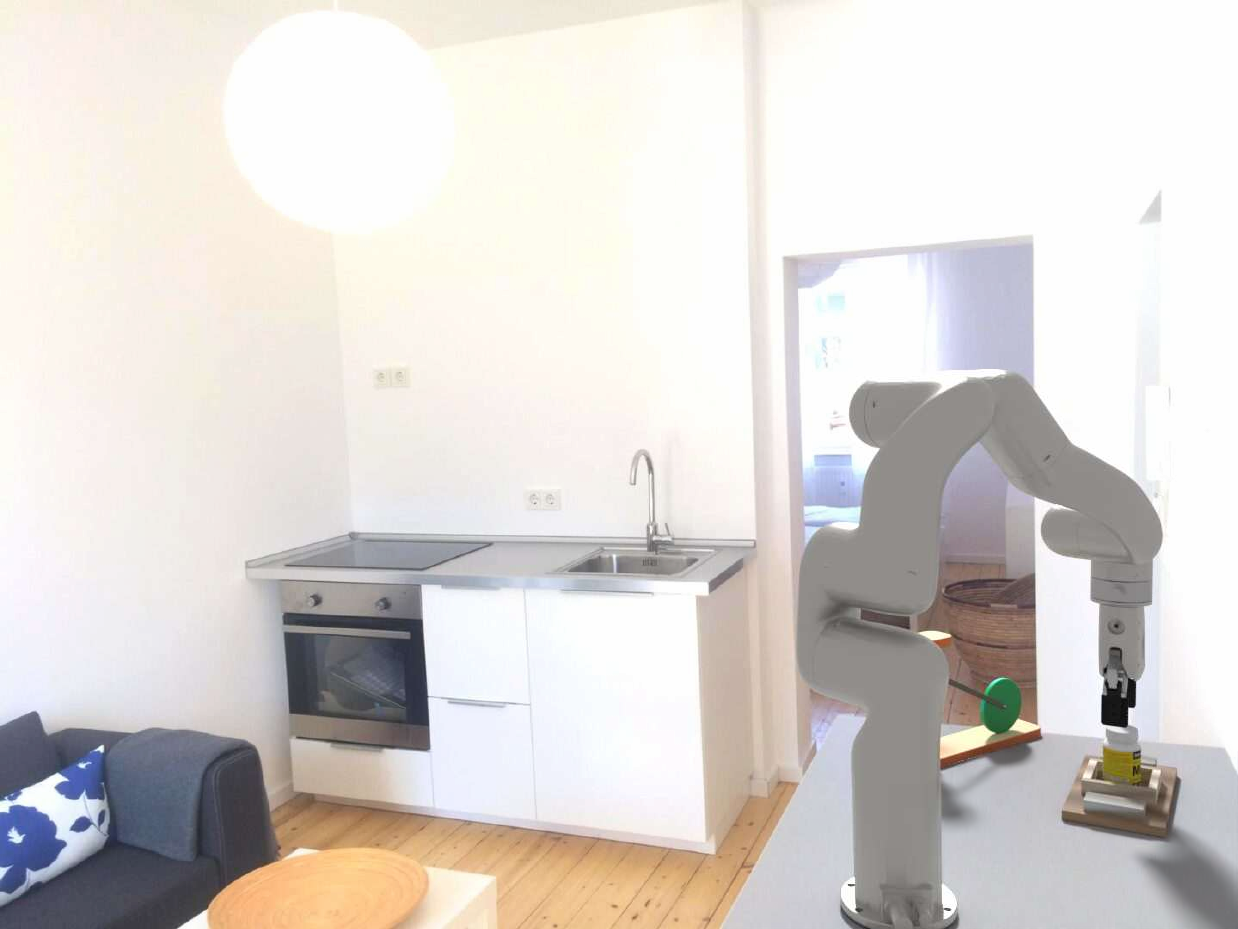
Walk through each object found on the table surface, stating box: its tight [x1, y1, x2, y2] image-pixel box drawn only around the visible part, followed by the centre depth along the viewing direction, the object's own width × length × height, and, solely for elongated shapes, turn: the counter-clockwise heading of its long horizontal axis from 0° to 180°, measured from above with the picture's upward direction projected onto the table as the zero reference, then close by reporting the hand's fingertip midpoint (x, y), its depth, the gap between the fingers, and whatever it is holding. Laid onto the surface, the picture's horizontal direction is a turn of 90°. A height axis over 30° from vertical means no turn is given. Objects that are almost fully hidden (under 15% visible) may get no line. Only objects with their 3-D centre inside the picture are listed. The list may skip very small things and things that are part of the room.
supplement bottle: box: [1102, 724, 1142, 786], centre depth 141 cm, size 5×5×8 cm
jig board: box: [1061, 751, 1178, 838], centre depth 142 cm, size 22×12×3 cm, turn 148°
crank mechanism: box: [918, 630, 1042, 768], centre depth 162 cm, size 25×7×19 cm, turn 119°
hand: (1118, 715), depth 140 cm, fingers open, 9 cm apart
